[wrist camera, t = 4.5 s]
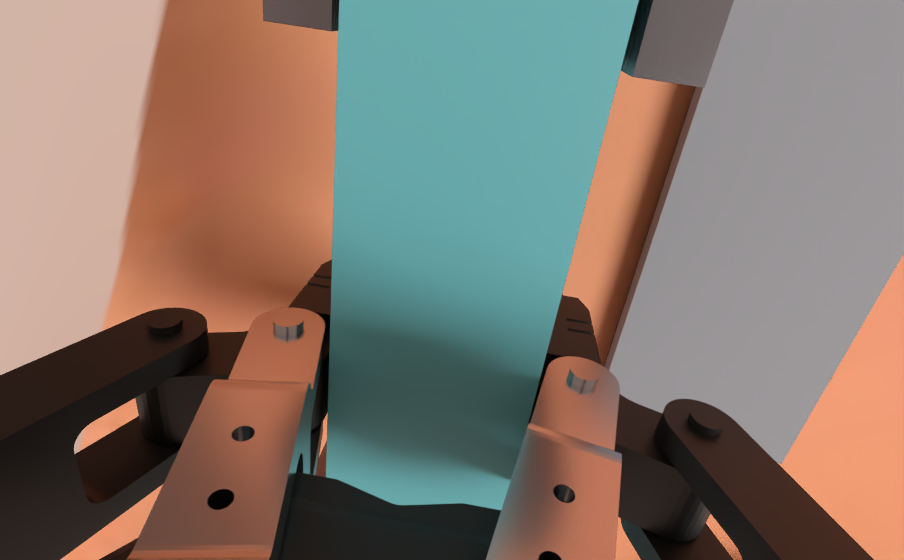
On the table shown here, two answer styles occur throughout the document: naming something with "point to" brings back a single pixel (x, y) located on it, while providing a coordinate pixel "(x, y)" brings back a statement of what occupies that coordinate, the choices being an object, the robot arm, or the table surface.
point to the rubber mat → (772, 217)
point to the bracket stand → (647, 53)
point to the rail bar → (456, 229)
